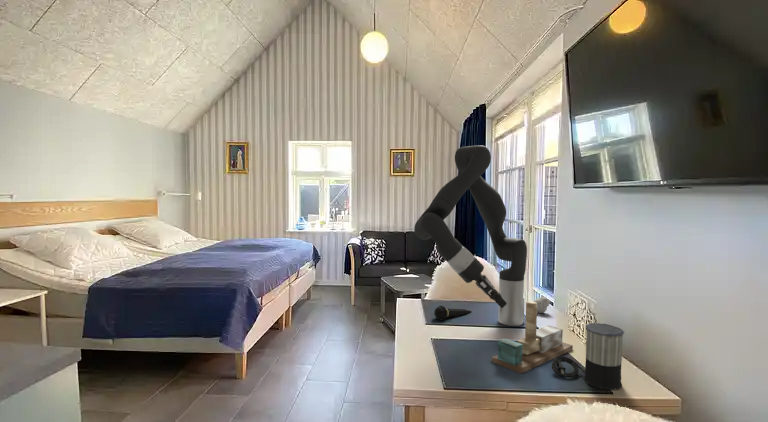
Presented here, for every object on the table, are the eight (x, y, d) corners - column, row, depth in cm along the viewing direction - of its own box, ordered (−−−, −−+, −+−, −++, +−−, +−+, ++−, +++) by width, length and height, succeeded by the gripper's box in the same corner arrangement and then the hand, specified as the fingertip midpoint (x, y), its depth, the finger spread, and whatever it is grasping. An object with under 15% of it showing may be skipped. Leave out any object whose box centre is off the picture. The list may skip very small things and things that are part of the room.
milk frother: (630, 390, 107) (632, 334, 106) (571, 392, 106) (573, 335, 105) (597, 367, 121) (599, 317, 120) (546, 368, 120) (547, 318, 119)
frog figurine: (550, 315, 171) (550, 299, 171) (532, 313, 174) (532, 297, 174) (549, 311, 177) (550, 295, 177) (532, 310, 180) (533, 294, 179)
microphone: (467, 318, 176) (432, 321, 165) (465, 305, 178) (430, 306, 167) (476, 318, 172) (441, 320, 161) (475, 304, 174) (440, 305, 162)
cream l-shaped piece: (548, 338, 138) (550, 295, 137) (558, 341, 135) (559, 297, 134) (517, 351, 126) (518, 304, 126) (527, 354, 124) (528, 306, 123)
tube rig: (544, 340, 142) (544, 320, 142) (572, 349, 134) (573, 328, 134) (491, 361, 124) (492, 338, 124) (520, 373, 116) (521, 349, 116)
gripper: (476, 259, 121) (515, 299, 120) (471, 252, 135) (506, 288, 135) (458, 277, 122) (496, 317, 121) (454, 268, 136) (489, 303, 135)
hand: (501, 301), depth 128 cm, fingers open, 8 cm apart
